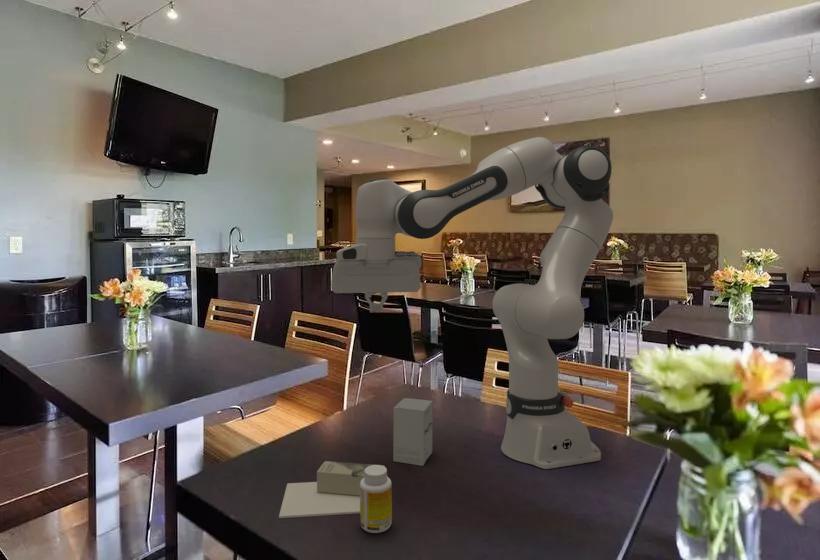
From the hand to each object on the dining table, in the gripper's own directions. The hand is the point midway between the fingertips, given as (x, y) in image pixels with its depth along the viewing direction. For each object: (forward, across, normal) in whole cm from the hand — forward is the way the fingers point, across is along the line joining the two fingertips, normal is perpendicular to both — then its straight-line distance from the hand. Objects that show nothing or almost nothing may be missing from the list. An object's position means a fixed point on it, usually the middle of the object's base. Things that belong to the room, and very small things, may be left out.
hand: (376, 312), depth 117 cm
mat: (+33, +10, +20) cm, 40 cm away
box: (+30, 0, +19) cm, 36 cm away
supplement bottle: (+33, +2, +30) cm, 45 cm away
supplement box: (+33, -8, +4) cm, 34 cm away
